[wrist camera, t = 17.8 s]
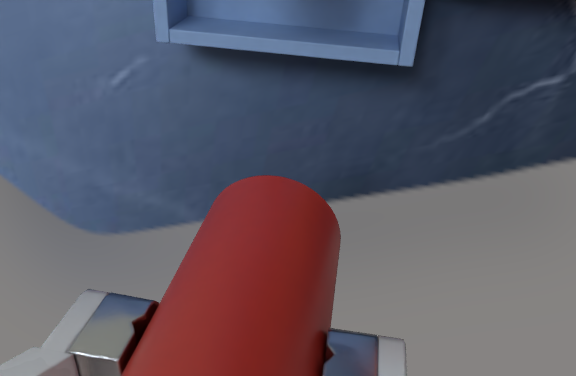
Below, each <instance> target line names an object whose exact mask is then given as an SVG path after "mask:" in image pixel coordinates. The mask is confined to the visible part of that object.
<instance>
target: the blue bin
mask: <svg viewBox="0 0 576 376" xmlns="http://www.w3.org/2000/svg"><path fill="white" fill-rule="evenodd" d="M424 4H425V0H153V9H154V21H155V33H156V41H157V42H164V43H175V44H185V45H195V46H206V47H216V48H226V49H236V50H246V51H256V52H266V53H276V54H287V55H297V56H307V57H317V58H327V59H337V60H347V61H357V62H368V63H378V64H388V65H397V64H398V65H399V66H408V67H412V66H413V63H414V57H415V52H416V47H417V41H418V36H419V31H420V26H421V20H422V15H423V10H424Z"/></svg>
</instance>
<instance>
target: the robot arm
mask: <svg viewBox="0 0 576 376" xmlns="http://www.w3.org/2000/svg"><path fill="white" fill-rule="evenodd" d="M158 306H159V303H158V302H156V301H153V300H147V299H143V298H137V297H132V296H127V295H121V294H116V293H108V292H103V291H97V290H92V289H87V290H86V291H84V292H83V293H81V294H80V296H79V297H78V298H77V300H76V301H75V302H74V304H73V305H72V306H71V308H70V309H69V310H68V312H67V313H66V315H65V316H64V317H63V318H62V320H61V321H60V322H59V324H58V325H57V326H56V328H55V329H54V331H53V332H52V333H51V334H50V336H49V337H48V338H47V340H46V341H45V342H44V344H43V345H42V346H41V348H37V347H32V348H31V349H29V350H27V351H25V352H23V353H22V354H19V355H18V356H16V357H14V358H12V359H10V360H8V361H7V362H5V363H3V364H1V365H0V376H121V375H122V373H123V371H124V369H125V367H126V366H127V364H128V362H129V360H130V358H131V356H132V354H133V352H134V351H135V349H136V347H137V345H138V343H139V341H140V339H141V337H142V336H143V334H144V332H145V330H146V328H147V326H148V324H149V323H150V321H151V319H152V317H153V315H154V313H155V311H156V309H157V308H158ZM322 376H407V367H406V347H405V342H404V340H403V339H398V338H392V337H386V336H379V335H378V337H377V335H373V334H367V333H360V332H353V331H346V330H340V329H333V328H328V335H327V342H326V349H325V357H324V367H323V374H322Z"/></svg>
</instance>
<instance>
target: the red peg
mask: <svg viewBox="0 0 576 376" xmlns="http://www.w3.org/2000/svg"><path fill="white" fill-rule="evenodd" d="M340 239H341V235H340V228H339V224H338V221H337V219H336V217H335V214H334V213H333V211H332V209H331V208H330V206H329V205H328V204H327V203H326V201H325V200H324V199H323V198H322V197H321V196H320V195H319V194H317V193H316V192H315V191H313V190H312V189H311V188H309V187H307V186H305V185H304V184H302V183H299V182H297V181H295V180H292V179H288V178H285V177H279V176H270V175H263V176H254V177H249V178H245V179H242V180H240V181H237V182H235V183H233V184H232V185H230V186H228V187H227V188H226V189H225V190H223V191H222V192H221V193H220V194H219V196H218V197H217V198H216V199H215V201H214V203H213V205H212V206H211V208H210V210H209V212H208V214H207V216H206V218H205V220H204V221H203V223H202V225H201V227H200V229H199V231H198V233H197V234H196V237H195V238H194V240H193V242H192V244H191V246H190V248H189V250H188V252H187V253H186V255H185V257H184V259H183V261H182V263H181V265H180V267H179V268H178V270H177V272H176V274H175V276H174V278H173V280H172V281H171V283H170V285H169V287H168V289H167V291H166V293H165V294H164V296H163V298H162V300H161V302H160V304H159V306H158V308H157V309H156V311H155V313H154V315H153V317H152V319H151V321H150V323H149V324H148V326H147V328H146V330H145V332H144V334H143V336H142V337H141V339H140V341H139V343H138V345H137V347H136V349H135V351H134V352H133V354H132V356H131V358H130V360H129V362H128V364H127V366H126V367H125V369H124V371H123V373H122V375H121V376H322V374H323V367H324V357H325V349H326V342H327V335H328V328H330V327H331V318H332V310H333V301H334V293H335V284H336V276H337V266H338V259H339V250H340Z"/></svg>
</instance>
